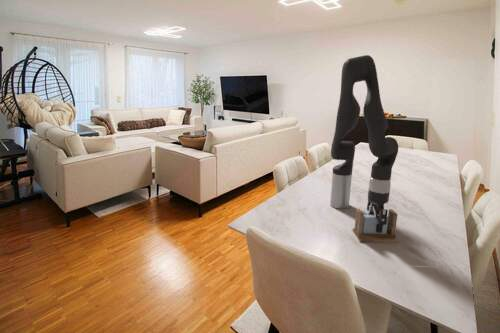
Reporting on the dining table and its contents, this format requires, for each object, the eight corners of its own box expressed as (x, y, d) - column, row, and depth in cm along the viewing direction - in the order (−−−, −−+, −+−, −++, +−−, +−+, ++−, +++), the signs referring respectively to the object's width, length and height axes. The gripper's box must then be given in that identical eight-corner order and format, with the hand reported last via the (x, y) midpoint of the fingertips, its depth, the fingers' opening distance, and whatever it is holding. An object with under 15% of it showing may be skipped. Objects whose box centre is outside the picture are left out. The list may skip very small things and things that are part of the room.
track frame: (352, 230, 123) (354, 206, 120) (386, 230, 122) (389, 206, 119) (359, 242, 113) (362, 216, 110) (396, 242, 113) (400, 217, 110)
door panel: (360, 232, 119) (362, 214, 117) (383, 233, 118) (385, 215, 116) (362, 235, 116) (364, 217, 114) (385, 236, 116) (388, 217, 114)
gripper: (363, 183, 120) (359, 219, 124) (376, 195, 106) (371, 235, 110) (381, 183, 119) (377, 219, 123) (397, 195, 105) (391, 236, 110)
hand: (374, 227), depth 117 cm, fingers open, 8 cm apart
